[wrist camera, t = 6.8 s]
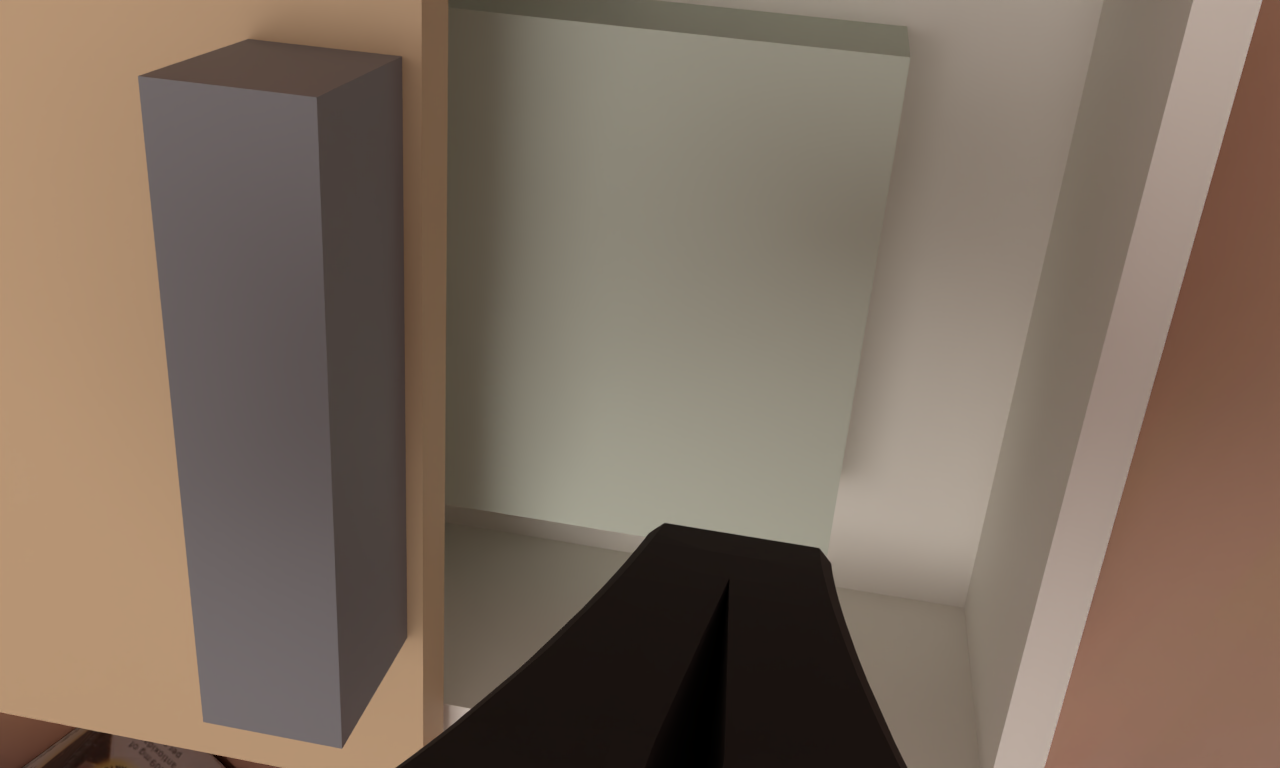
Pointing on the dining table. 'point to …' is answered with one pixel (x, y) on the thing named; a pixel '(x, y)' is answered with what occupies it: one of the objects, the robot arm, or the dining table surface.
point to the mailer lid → (225, 373)
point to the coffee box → (118, 753)
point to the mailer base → (967, 371)
